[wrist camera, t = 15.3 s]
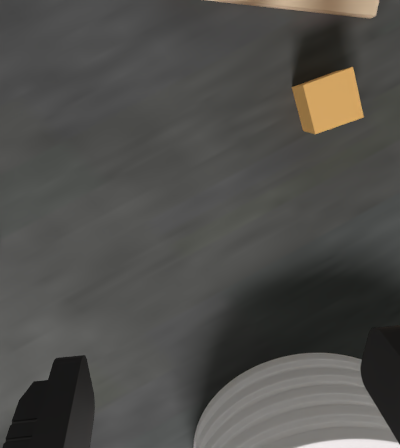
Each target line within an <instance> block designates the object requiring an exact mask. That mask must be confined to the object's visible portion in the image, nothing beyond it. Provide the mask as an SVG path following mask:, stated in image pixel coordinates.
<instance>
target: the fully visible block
mask: <svg viewBox="0 0 400 448" xmlns="http://www.w3.org/2000/svg"><path fill="white" fill-rule="evenodd" d="M292 90H293V94H294V98H295V101H296V105H297V109H298V113H299V117H300V120H301V124H302V128H303V131H306V132H309V133H313V134H317V133H320V132H323V131H326V130H329V129H332V128H335V127H337V126H340V125H343V124H346V123H349V122H352V121H355V120H358V119H360V118H363V117H364V116H363V112H362V107H361V102H360V98H359V93H358V88H357V84H356V79H355V74H354V69H353V67H351V68H347V69H343V70H339V71H335V72H332V73H329V74H327V75H324V76H321V77H318V78H316V79H313V80H310V81H308V82H305V83H302V84H299V85H297V86H294V87H292Z"/></svg>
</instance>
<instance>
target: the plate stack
mask: <svg viewBox="0 0 400 448" xmlns="http://www.w3.org/2000/svg"><path fill="white" fill-rule="evenodd" d="M361 362H362V360H361V359H358V358H355V357H351V356H346V355H341V354H333V353H303V354H295V355H289V356H284V357H280V358H277V359H273V360H270V361H267V362H265V363H262V364H260V365H257V366H255V367H253V368H251V369H249V370H247V371H245V372H244V373H242V374H240V375H239V376H237V377H236V378H234V379H233V380H232V381H230V382H229V383H228V384H226V385H225V386H224V387H223V388H222V389H221V390H220V391H219V392H218V393H217V394H216V395H215V396H214V397H213V399H212V400H211V401H210V402H209V404H208V405H207V407H206V408H205V410H204V412H203V414H202V415H201V418H200V420H199V422H198V425H197V428H196V432H195V436H194V445H193V448H400V444H399V443H398V441H397V439H396V438H395V436H394V434H393V433H392V431H391V429H390V428H389V426H388V424H387V423H386V421H385V420H384V418H383V416H382V415H381V413H380V411H379V410H378V408H377V406H376V405H375V403H374V401H373V400H372V398H371V396H370V395H369V393H368V391H367V390H366V388H365V386H364V384H363V381H362V377H361V371H360V367H361Z"/></svg>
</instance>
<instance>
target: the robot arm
mask: <svg viewBox="0 0 400 448" xmlns="http://www.w3.org/2000/svg"><path fill="white" fill-rule="evenodd" d="M360 371H361V377H362V381H363V384H364V386H365V388H366V390H367V391H368V393H369V395H370V396H371V398H372V400H373V401H374V403H375V405H376V406H377V408H378V410H379V411H380V413H381V415H382V416H383V418H384V420H385V421H386V423H387V424H388V426H389V428H390V429H391V431H392V433H393V434H394V436H395V438H396V439H397V441H398V443H399V444H400V326H398V325H397V326H387V327H377V328H372V329H371V330H370V331H369V334H368V338H367V342H366V346H365V350H364V354H363V358H362V362H361V367H360ZM94 410H95V402H94V392H93V387H92V382H91V378H90V373H89V368H88V363H87V359H86V356H85V355H83V356H73V357H63V358H56V359H55V360H54V362H53V365H52V369H51V372H50V376H49V379H48V380H45V381H35V382H33V383H32V385H31V386H30V387H29V388H28V390H27V391H26V392H25V394H24V395H23V396H22V397H21V399H20V400H19V402H18V405H17V408H16V411H15V414H14V417H13V419H12V425H10V428H9V431H8V434H7V436H6V442H5V443H4V445H3V448H90V442H91V435H92V428H93V421H94Z"/></svg>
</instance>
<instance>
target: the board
mask: <svg viewBox="0 0 400 448" xmlns="http://www.w3.org/2000/svg"><path fill="white" fill-rule="evenodd" d="M208 1H217V2H226V3H235V4H244V5H253V6H262V7H271V8H280V9H290V10H299V11H308V12H317V13H326V14H335V15H344V16H353V17H362V18H372V17H374V16H376V13H377V8H378V4H379V0H208Z"/></svg>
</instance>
